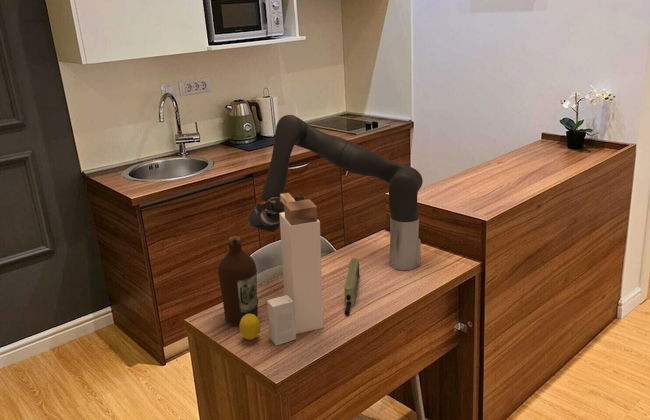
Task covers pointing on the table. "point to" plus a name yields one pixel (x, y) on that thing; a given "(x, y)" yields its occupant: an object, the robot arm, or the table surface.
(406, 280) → the table surface
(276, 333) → the skincare box
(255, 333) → the lemon
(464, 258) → the table surface
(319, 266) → the stand
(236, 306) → the olive oil
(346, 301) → the handheld radio
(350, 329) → the table surface
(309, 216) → the mallet
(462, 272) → the table surface
